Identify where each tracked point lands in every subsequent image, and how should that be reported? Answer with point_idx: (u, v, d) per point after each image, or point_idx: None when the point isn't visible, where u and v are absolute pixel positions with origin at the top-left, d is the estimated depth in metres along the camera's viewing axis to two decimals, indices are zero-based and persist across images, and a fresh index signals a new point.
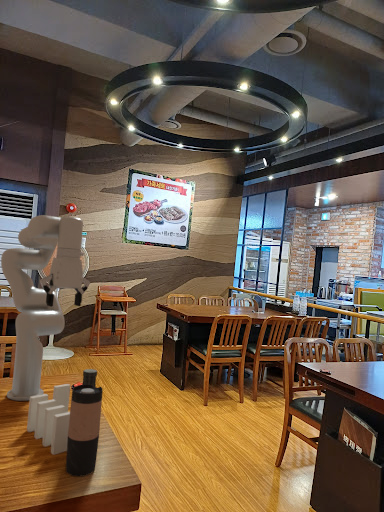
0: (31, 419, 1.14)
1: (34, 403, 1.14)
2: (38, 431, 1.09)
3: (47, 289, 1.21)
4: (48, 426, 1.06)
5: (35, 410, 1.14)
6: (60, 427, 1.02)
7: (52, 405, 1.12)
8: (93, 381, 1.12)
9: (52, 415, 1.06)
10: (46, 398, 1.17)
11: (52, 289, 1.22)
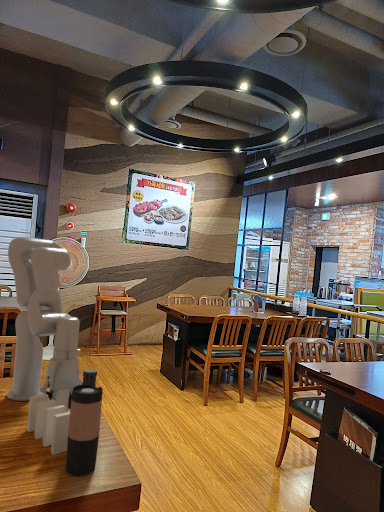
0: (31, 419, 1.14)
1: (34, 403, 1.14)
2: (38, 431, 1.09)
3: (49, 395, 1.23)
4: (48, 426, 1.06)
5: (35, 410, 1.14)
6: (60, 427, 1.02)
7: (52, 405, 1.12)
8: (93, 381, 1.12)
9: (52, 415, 1.06)
10: (46, 398, 1.17)
11: (53, 395, 1.23)
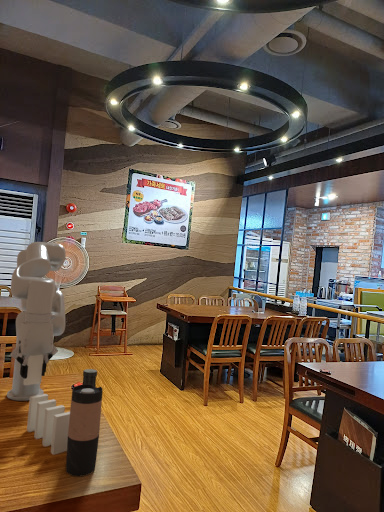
0: (31, 419, 1.14)
1: (34, 403, 1.14)
2: (38, 431, 1.09)
3: (21, 361, 1.17)
4: (48, 426, 1.06)
5: (35, 410, 1.14)
6: (60, 427, 1.02)
7: (52, 405, 1.12)
8: (93, 381, 1.12)
9: (52, 415, 1.06)
10: (46, 398, 1.16)
11: (25, 360, 1.17)
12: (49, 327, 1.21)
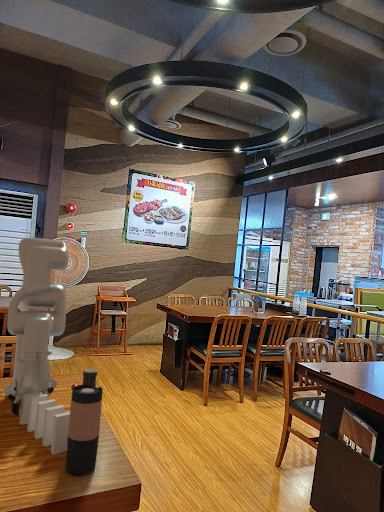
0: (31, 419, 1.13)
1: (34, 403, 1.14)
2: (38, 431, 1.09)
3: (12, 398, 1.15)
4: (48, 426, 1.06)
5: (35, 410, 1.14)
6: (60, 427, 1.02)
7: (52, 405, 1.12)
8: (93, 381, 1.12)
9: (52, 415, 1.06)
10: (46, 398, 1.16)
11: (17, 397, 1.16)
12: (45, 364, 1.21)
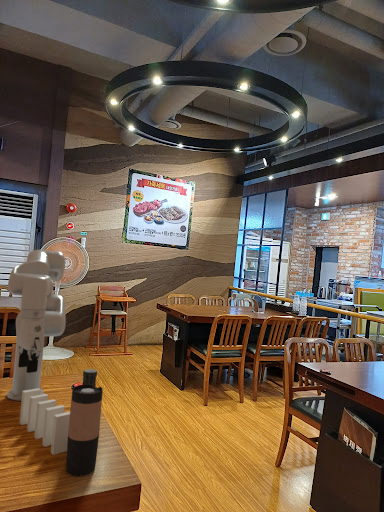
0: (31, 419, 1.13)
1: (34, 403, 1.14)
2: (38, 431, 1.09)
3: None
4: (48, 426, 1.06)
5: (35, 410, 1.14)
6: (60, 427, 1.02)
7: (52, 405, 1.12)
8: (93, 381, 1.12)
9: (52, 415, 1.06)
10: (46, 398, 1.16)
11: (20, 350, 1.25)
12: (28, 323, 1.20)
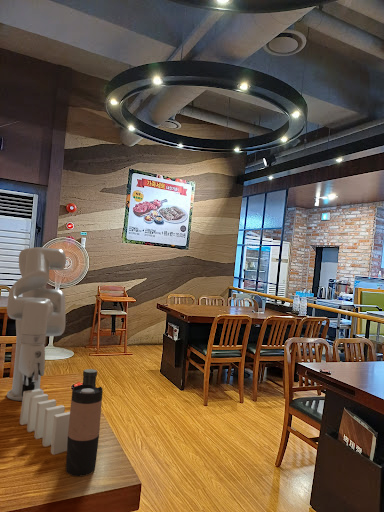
0: (31, 419, 1.13)
1: (34, 403, 1.14)
2: (38, 431, 1.09)
3: None
4: (48, 426, 1.06)
5: (35, 410, 1.14)
6: (60, 427, 1.02)
7: (52, 405, 1.12)
8: (93, 381, 1.12)
9: (52, 415, 1.06)
10: (46, 398, 1.16)
11: (23, 378, 1.22)
12: (28, 349, 1.18)
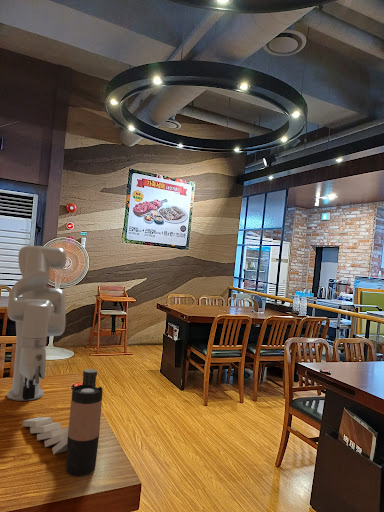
0: (36, 432, 1.10)
1: None
2: (41, 439, 1.07)
3: None
4: (55, 443, 1.02)
5: None
6: None
7: None
8: (93, 381, 1.12)
9: None
10: (58, 428, 1.09)
11: (23, 380, 1.22)
12: (29, 352, 1.18)
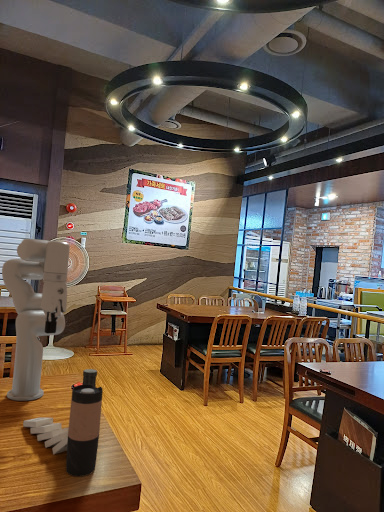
0: None
1: None
2: None
3: None
4: (55, 443, 1.02)
5: None
6: None
7: None
8: (93, 381, 1.12)
9: None
10: (58, 429, 1.09)
11: (45, 315, 1.27)
12: (51, 286, 1.24)
